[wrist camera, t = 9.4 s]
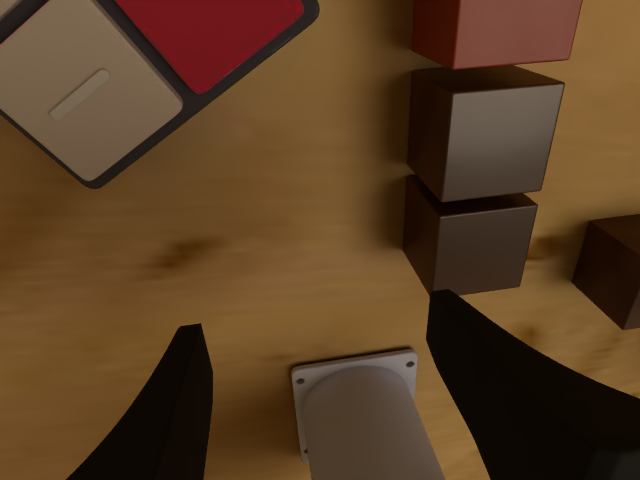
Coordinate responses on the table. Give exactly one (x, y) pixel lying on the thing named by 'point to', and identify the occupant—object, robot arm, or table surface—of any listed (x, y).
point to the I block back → (612, 269)
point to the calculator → (128, 70)
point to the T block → (481, 130)
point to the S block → (494, 31)
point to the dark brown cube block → (466, 239)
